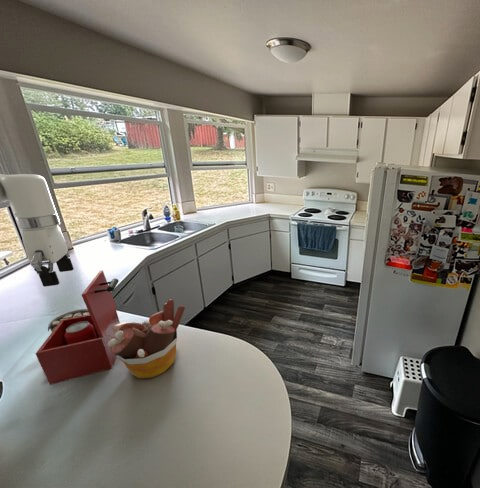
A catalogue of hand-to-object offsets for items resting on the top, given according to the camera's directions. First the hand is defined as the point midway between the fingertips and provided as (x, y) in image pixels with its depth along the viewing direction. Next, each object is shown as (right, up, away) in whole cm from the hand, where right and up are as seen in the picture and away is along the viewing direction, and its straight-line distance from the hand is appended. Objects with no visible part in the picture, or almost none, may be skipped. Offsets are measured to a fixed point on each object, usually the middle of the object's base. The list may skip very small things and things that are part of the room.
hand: (59, 277), depth 73 cm
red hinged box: (-1, -28, +11) cm, 30 cm away
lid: (+6, -9, +7) cm, 13 cm away
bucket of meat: (+23, -30, +9) cm, 39 cm away
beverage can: (-1, -28, +10) cm, 30 cm away
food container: (-13, -25, +19) cm, 34 cm away
